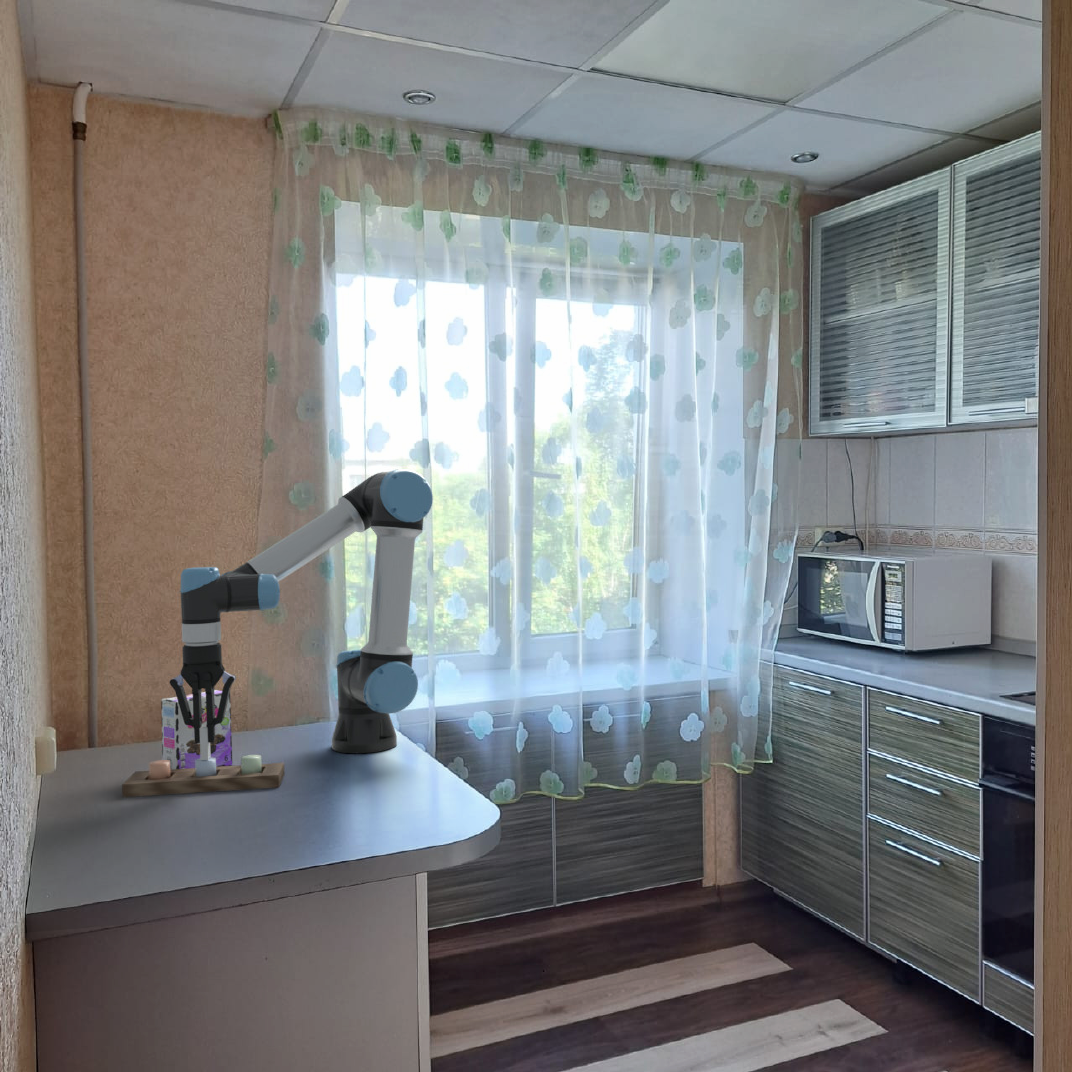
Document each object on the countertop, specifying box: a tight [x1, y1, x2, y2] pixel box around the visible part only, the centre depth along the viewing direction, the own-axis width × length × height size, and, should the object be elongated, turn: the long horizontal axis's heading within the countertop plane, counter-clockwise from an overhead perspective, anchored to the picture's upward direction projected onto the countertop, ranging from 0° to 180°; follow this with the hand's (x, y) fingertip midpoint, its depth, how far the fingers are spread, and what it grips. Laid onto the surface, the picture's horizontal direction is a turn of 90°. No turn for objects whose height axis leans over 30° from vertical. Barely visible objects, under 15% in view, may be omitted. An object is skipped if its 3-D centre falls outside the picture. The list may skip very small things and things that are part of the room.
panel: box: [121, 762, 286, 798], centre depth 199 cm, size 30×10×2 cm, turn 98°
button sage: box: [240, 754, 262, 774], centre depth 200 cm, size 4×4×4 cm
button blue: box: [195, 757, 216, 777], centre depth 199 cm, size 4×4×4 cm
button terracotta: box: [148, 759, 171, 780], centre depth 198 cm, size 4×4×4 cm
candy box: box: [160, 689, 233, 769], centre depth 212 cm, size 14×6×16 cm, turn 143°
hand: (205, 758), depth 199 cm, fingers closed
